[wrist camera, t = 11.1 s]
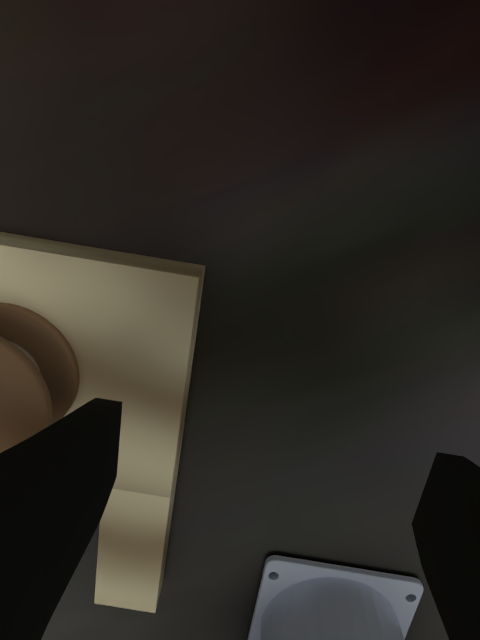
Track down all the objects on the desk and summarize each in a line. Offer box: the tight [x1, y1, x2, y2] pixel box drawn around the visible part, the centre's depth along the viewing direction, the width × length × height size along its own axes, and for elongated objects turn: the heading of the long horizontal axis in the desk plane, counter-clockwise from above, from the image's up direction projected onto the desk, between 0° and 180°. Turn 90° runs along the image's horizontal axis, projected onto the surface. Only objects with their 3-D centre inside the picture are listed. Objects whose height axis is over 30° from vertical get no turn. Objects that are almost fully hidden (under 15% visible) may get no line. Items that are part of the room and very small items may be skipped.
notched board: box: [0, 232, 205, 613], centre depth 19 cm, size 17×14×5 cm
